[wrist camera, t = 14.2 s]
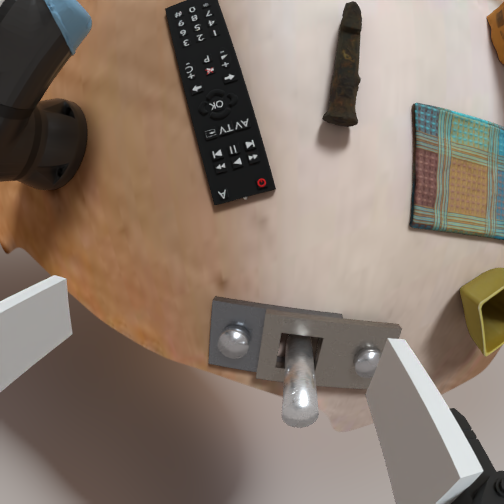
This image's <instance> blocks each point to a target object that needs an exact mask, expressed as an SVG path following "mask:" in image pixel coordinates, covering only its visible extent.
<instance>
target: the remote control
mask: <svg viewBox="0 0 504 504" xmlns="http://www.w3.org/2000/svg"><path fill="white" fill-rule="evenodd" d="M165 10H166V15H167V19H168V24H169V28H170V32H171V37H172V41H173V45H174V49H175V54H176V58H177V62H178V66H179V70H180V74H181V78H182V83H183V87H184V91H185V95H186V99H187V103H188V107H189V111H190V114H191V118H192V122H193V126H194V130H195V134H196V138H197V142H198V145H199V149H200V153H201V157H202V161H203V164H204V168H205V172H206V176H207V179H208V183H209V187H210V190H211V194H212V198H213V201H214V205H218V204H222V203H225V202H229V201H233V200H236V199H240V198H243V199H245V200H246V199H247V196H251V195H255V194H258V193H262V192H266V191H270V190H274V189H276V188H275V184H274V180H273V177H272V173H271V169H270V166H269V162H268V159H267V155H266V152H265V148H264V145H263V141H262V138H261V134H260V131H259V127H258V124H257V120H256V117H255V114H254V110H253V107H252V104H251V100H250V97H249V94H248V91H247V87H246V84H245V81H244V78H243V75H242V71H241V68H240V65H239V62H238V59H237V56H236V53H235V50H234V47H233V44H232V41H231V38H230V35H229V32H228V29H227V26H226V23H225V20H224V17H223V14H222V11H221V8H220V6H219V3H218V0H186V1H183V2H181V3H178V4H176V5H173V6H171V7H168V8H166V9H165Z"/></svg>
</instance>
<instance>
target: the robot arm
mask: <svg viewBox="0 0 504 504" xmlns="http://www.w3.org/2000/svg"><path fill="white" fill-rule="evenodd" d="M91 27H92V20H91V17H90V15H89V14H88V13H87V12H86V10H85V9H84V8H83V7H82V6H81V5H80V4H79V3H78V2H77V1H76V0H0V182H1V181H16V180H17V181H19V182H22V183H24V184H26V185H29V186H31V187H33V188H36V189H39V190H54V189H58V188H60V187H62V186H64V185H65V184H66V183H67V182H68V181H69V180H70V179H71V178H72V177H73V176H74V174H75V173H76V171H77V170H78V168H79V166H80V164H81V161H82V159H83V156H84V152H85V148H86V143H87V124H86V119H85V116H84V113H83V111H82V110H81V108H80V107H79V106H78V105H77V104H75V103H74V102H71V101H68V100H65V99H51V100H45V101H40V100H41V98H42V96H43V95H44V93H45V92H46V90H47V89H48V87H49V86H50V84H51V83H52V81H53V80H54V78H55V77H56V75H57V74H58V73H59V71H60V70H61V69H62V67H63V66H64V65H65V63H66V62H67V61H68V59H69V58H70V57H71V56H72V55H74V54H75V50H76V49H77V47H78V46H79V45H80V43H81V42H82V41H83V39H84V38H85V37H86V36H87V34H88V33H89V32H90V30H91ZM70 335H72V328H71V320H70V312H69V304H68V293H67V281H66V278H62V277H59V276H56V275H54V276H52V277H49V278H47V279H45V280H43V281H41V282H39V283H37V284H35V285H33V286H30V287H28V288H26V289H24V290H22V291H20V292H18V293H16V294H14V295H12V296H10V297H8V298H6V299H4V300H2V301H0V392H1V391H2V390H4V389H5V388H6V387H7V386H8V385H9V384H11V383H12V382H13V381H14V380H15V379H17V378H18V377H19V376H20V375H21V374H23V373H24V372H25V371H26V370H28V369H29V368H30V367H31V366H33V365H34V364H35V363H36V362H38V361H39V360H40V359H41V358H43V357H44V356H45V355H46V354H48V353H49V352H50V351H51V350H52V349H54V348H55V347H56V346H58V345H59V344H60V343H62V342H63V341H64V340H65V339H67V338H68V337H69V336H70ZM365 395H366V398H367V402H368V405H369V408H370V411H371V414H372V418H373V421H374V424H375V428H376V431H377V434H378V438H379V441H380V445H381V448H382V452H383V456H384V459H385V462H386V466H387V470H388V474H389V478H390V482H391V486H392V490H393V494H394V498H395V502H396V504H504V471H498V472H496V470H495V469H494V467H493V465H492V463H491V461H490V460H489V458H488V456H487V454H486V452H485V451H484V449H483V447H482V445H481V444H480V442H479V440H478V439H476V435H475V433H474V432H473V430H472V431H471V427H470V425H469V423H468V422H467V420H466V418H465V417H464V416H463V415H461V414H460V413H459V412H458V411H457V410H456V409H454V408H452V409H449V408H448V406H447V404H446V403H445V401H444V399H443V398H442V396H441V394H440V393H439V391H438V390H437V388H436V386H435V385H434V383H433V382H432V380H431V378H430V377H429V375H428V374H427V372H426V371H425V369H424V368H423V366H422V365H421V363H420V361H419V360H418V358H417V357H416V355H415V354H414V352H413V351H412V349H411V348H410V347H409V345H408V344H407V342H406V341H405V339H392V338H387V341H386V344H385V347H384V349H383V352H382V355H381V357H380V360H379V363H378V365H377V368H376V370H375V373H374V375H373V378H372V380H371V382H370V385H369V387H368V389H367V392H366V394H365Z"/></svg>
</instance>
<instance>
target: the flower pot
mask: <svg viewBox="0 0 504 504" xmlns="http://www.w3.org/2000/svg"><path fill="white" fill-rule="evenodd" d="M460 295H461V299H462V304H463V309H464V314H465V320H466V324H467V328H468V331H469V334H470V336H471V337H472V339H473V341H474V342H475V343H476V345H477V346H478V348H479V349H480V350H481V352H482V353H483V355H484V356H485V357H486V356H488V355H489V354H491V353H492V352H494V351H495V350H496V349H498V348H499V347H500V346H502V345H503V344H504V268H494V269H491V270H488V271H486V272H484V273H482V274H481V275H479V276H478V277H476V278H475V279H473V280H472V281H470V282H468V283H467V284H465V285H464V286H462V287H461V288H460Z"/></svg>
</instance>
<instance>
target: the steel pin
mask: <svg viewBox="0 0 504 504" xmlns="http://www.w3.org/2000/svg"><path fill="white" fill-rule="evenodd" d="M317 418H318V402H317V390H316V380H315V370H314V360H313V351H312V342H311V338H310V336H303V335H296V334H290V335H289V336H288V337H287V340H286V354H285V372H284V389H283V405H282V419H283V421H284V422H285V423H286V424H287V425H289V426H292V427H306V426H309V425H311V424H313V423H314V422H315V421H316V420H317Z"/></svg>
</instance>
